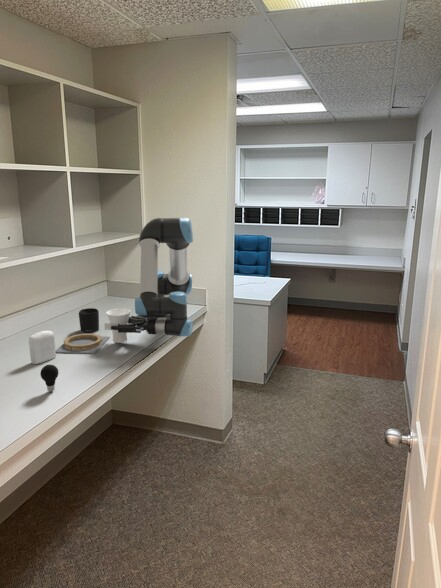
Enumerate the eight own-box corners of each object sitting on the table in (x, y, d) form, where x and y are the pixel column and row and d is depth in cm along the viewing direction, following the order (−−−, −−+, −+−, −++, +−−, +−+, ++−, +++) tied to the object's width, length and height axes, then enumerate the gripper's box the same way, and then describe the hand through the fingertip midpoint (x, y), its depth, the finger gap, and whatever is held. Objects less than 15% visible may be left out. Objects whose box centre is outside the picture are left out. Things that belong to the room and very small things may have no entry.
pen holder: (75, 331, 218) (74, 312, 215) (89, 326, 226) (88, 307, 223) (90, 334, 213) (88, 314, 211) (103, 329, 222) (102, 309, 219)
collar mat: (72, 336, 210) (72, 335, 210) (109, 337, 209) (109, 336, 209) (54, 352, 191) (54, 351, 191) (95, 354, 190) (95, 352, 190)
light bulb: (49, 386, 160) (47, 361, 157) (63, 389, 158) (61, 363, 156) (38, 394, 154) (35, 367, 152) (53, 396, 153) (50, 369, 150)
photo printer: (51, 355, 188) (49, 327, 185) (57, 357, 186) (55, 329, 183) (29, 363, 180) (26, 334, 177) (35, 365, 178) (32, 336, 175)
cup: (126, 345, 196) (125, 316, 192) (104, 343, 198) (102, 314, 194) (135, 337, 206) (133, 309, 202) (113, 335, 208) (112, 307, 204)
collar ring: (72, 337, 208) (72, 333, 208) (106, 338, 207) (106, 334, 207) (58, 349, 193) (58, 345, 192) (94, 350, 192) (94, 346, 191)
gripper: (149, 342, 187) (99, 339, 191) (165, 326, 208) (119, 323, 212) (148, 325, 185) (98, 322, 189) (164, 310, 206) (118, 308, 210)
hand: (109, 322), depth 200 cm, fingers closed on cup, 9 cm apart
